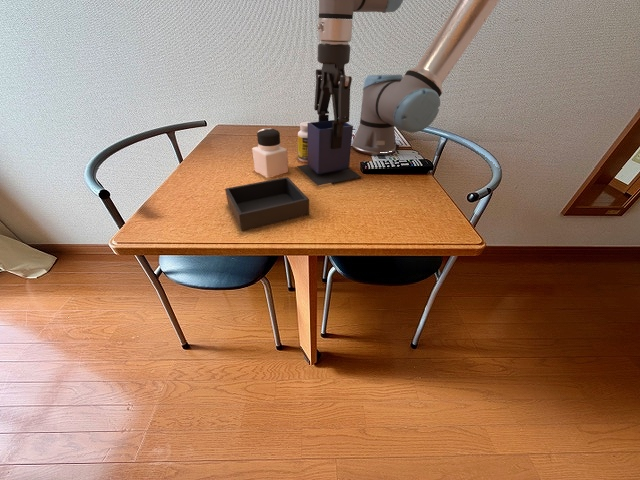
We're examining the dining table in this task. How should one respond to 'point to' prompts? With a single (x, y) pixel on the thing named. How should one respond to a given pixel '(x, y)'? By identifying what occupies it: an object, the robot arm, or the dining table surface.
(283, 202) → the bin
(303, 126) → the pill bottle
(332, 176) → the mat
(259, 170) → the medicine bottle
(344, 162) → the inner bin
